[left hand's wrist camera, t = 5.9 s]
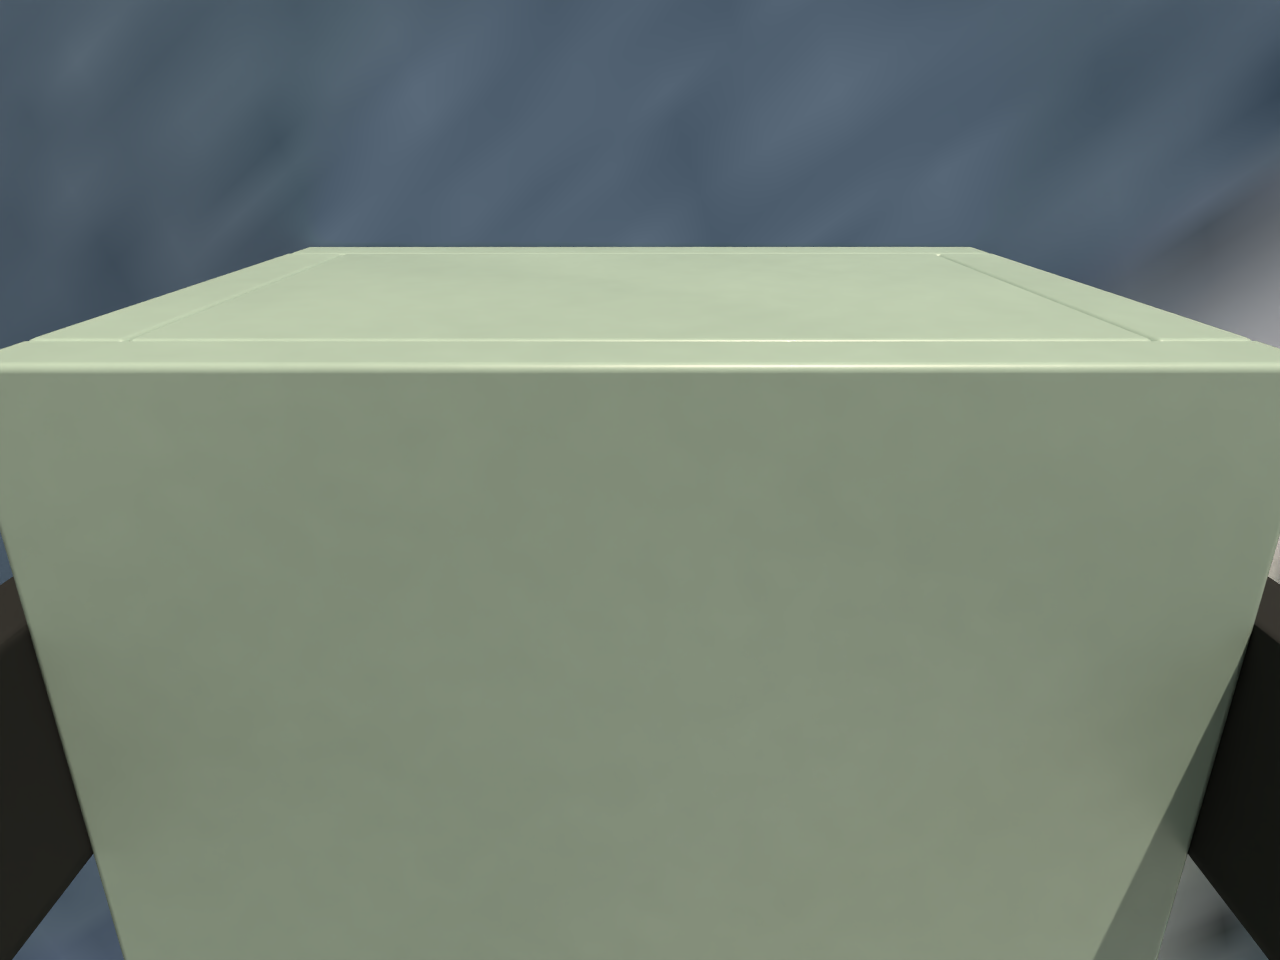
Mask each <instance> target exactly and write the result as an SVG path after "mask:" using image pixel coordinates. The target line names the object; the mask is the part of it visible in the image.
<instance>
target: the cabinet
mask: <svg viewBox="0 0 1280 960" xmlns="http://www.w3.org/2000/svg"><path fill="white" fill-rule="evenodd" d="M0 531H1V535H2V538H3V542H4V545H5V549H6V552H7V556H8V559H9V563H10V566H11V569H12V573H13V576H14V580H15V583H16V587H17V590H18V594H19V597H20V601H21V604H22V608H23V611H24V614H25V618H26V621H27V625H28V628H29V632H30V635H31V639H32V642H33V646H34V649H35V652H36V656H37V659H38V663H39V666H40V670H41V673H42V677H43V680H44V684H45V687H46V691H47V694H48V697H49V701H50V704H51V708H52V711H53V715H54V718H55V722H56V725H57V729H58V732H59V736H60V739H61V742H62V746H63V749H64V753H65V756H66V760H67V763H68V767H69V770H70V774H71V777H72V781H73V784H74V787H75V791H76V794H77V798H78V801H79V805H80V808H81V812H82V815H83V819H84V822H85V826H86V829H87V832H88V836H89V839H90V843H91V846H92V850H93V853H94V857H95V860H96V864H97V867H98V870H99V874H100V877H101V881H102V884H103V888H104V891H105V895H106V898H107V902H108V905H109V909H110V912H111V915H112V919H113V922H114V926H115V929H116V933H117V936H118V940H119V943H120V947H121V950H122V954H123V957H124V960H1157V957H1158V954H1159V950H1160V947H1161V944H1162V940H1163V937H1164V933H1165V930H1166V926H1167V923H1168V919H1169V916H1170V912H1171V909H1172V906H1173V902H1174V899H1175V895H1176V892H1177V888H1178V885H1179V881H1180V878H1181V874H1182V871H1183V867H1184V864H1185V861H1186V857H1187V854H1188V850H1189V847H1190V843H1191V840H1192V836H1193V833H1194V829H1195V826H1196V823H1197V819H1198V816H1199V812H1200V809H1201V805H1202V802H1203V798H1204V795H1205V791H1206V788H1207V784H1208V781H1209V778H1210V774H1211V771H1212V767H1213V764H1214V760H1215V757H1216V753H1217V750H1218V746H1219V743H1220V740H1221V736H1222V733H1223V729H1224V726H1225V722H1226V719H1227V715H1228V712H1229V708H1230V705H1231V702H1232V698H1233V695H1234V691H1235V688H1236V684H1237V681H1238V677H1239V674H1240V670H1241V667H1242V663H1243V660H1244V657H1245V653H1246V650H1247V646H1248V643H1249V639H1250V636H1251V632H1252V629H1253V625H1254V622H1255V619H1256V615H1257V612H1258V608H1259V605H1260V601H1261V598H1262V594H1263V591H1264V587H1265V584H1266V580H1267V577H1268V574H1269V570H1270V567H1271V563H1272V560H1273V556H1274V553H1275V549H1276V546H1277V542H1278V539H1279V536H1280V349H1279V348H1275V347H1272V346H1269V345H1266V344H1263V343H1260V342H1257V341H1251V340H1250V339H1248V338H1246V337H1243V336H1240V335H1237V334H1234V333H1231V332H1228V331H1225V330H1221V329H1218V328H1215V327H1212V326H1209V325H1206V324H1203V323H1200V322H1197V321H1194V320H1191V319H1188V318H1185V317H1182V316H1179V315H1176V314H1173V313H1170V312H1167V311H1164V310H1161V309H1158V308H1155V307H1152V306H1149V305H1146V304H1143V303H1140V302H1137V301H1133V300H1130V299H1127V298H1124V297H1121V296H1118V295H1115V294H1112V293H1109V292H1106V291H1103V290H1100V289H1097V288H1094V287H1091V286H1088V285H1085V284H1082V283H1079V282H1076V281H1073V280H1070V279H1067V278H1064V277H1061V276H1058V275H1055V274H1052V273H1049V272H1046V271H1042V270H1039V269H1036V268H1033V267H1030V266H1027V265H1024V264H1021V263H1018V262H1015V261H1012V260H1009V259H1006V258H1003V257H1000V256H997V255H994V254H989V253H987V252H984V251H981V250H978V249H975V248H972V247H309V248H306V249H303V250H300V251H297V252H294V253H292V254H287V255H284V256H281V257H278V258H275V259H272V260H269V261H266V262H263V263H260V264H257V265H254V266H251V267H247V268H244V269H241V270H238V271H235V272H232V273H229V274H226V275H223V276H220V277H217V278H214V279H211V280H208V281H205V282H202V283H199V284H196V285H193V286H190V287H187V288H184V289H181V290H178V291H175V292H172V293H169V294H166V295H163V296H160V297H157V298H154V299H151V300H148V301H145V302H142V303H139V304H136V305H133V306H130V307H127V308H124V309H121V310H118V311H115V312H111V313H108V314H105V315H102V316H99V317H96V318H93V319H90V320H87V321H84V322H81V323H78V324H75V325H72V326H69V327H66V328H63V329H60V330H57V331H54V332H51V333H48V334H45V335H42V336H39V337H36V338H34V339H31V340H30V341H25V342H22V343H19V344H16V345H13V346H10V347H7V348H4V349H1V350H0Z"/></svg>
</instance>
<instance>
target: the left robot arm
mask: <svg viewBox="0 0 1280 960" xmlns="http://www.w3.org/2000/svg"><path fill="white" fill-rule="evenodd" d="M92 854H93V850H92V846H91V843H90V839H89V836H88V832H87V829H86V826H85V822H84V819H83V815H82V812H81V808H80V805H79V801H78V798H77V794H76V791H75V787H74V784H73V781H72V777H71V774H70V770H69V767H68V763H67V760H66V756H65V753H64V749H63V746H62V742H61V739H60V736H59V732H58V729H57V725H56V722H55V718H54V715H53V711H52V708H51V704H50V701H49V697H48V694H47V691H46V687H45V684H44V680H43V677H42V673H41V670H40V666H39V663H38V659H37V656H36V652H35V649H34V646H33V642H32V639H31V635H30V632H29V628H28V625H27V621H26V618H25V614H24V611H23V608H22V604H21V601H20V597H19V594H18V590H17V587H16V583H15V580H14V576H13V577H12V578H10V579H9V580H7V581H6V582H4V583H3V584H2V585H0V960H12V959H13V958H14V956H15V955H16V954H17V952H18V951H19V950H20V948H21V947H22V946H23V945H24V943H25V942H26V941H27V939H28V938H29V937H30V935H31V934H32V933H33V931H34V930H35V929H36V928H37V926H38V925H39V924H40V922H41V921H42V920H43V918H44V917H45V916H46V915H47V913H48V912H49V911H50V909H51V908H52V907H53V905H54V904H55V903H56V901H57V900H58V899H59V898H60V896H61V895H62V894H63V892H64V891H65V890H66V888H67V887H68V886H69V884H70V883H71V882H72V881H73V879H74V878H75V877H76V875H77V874H78V873H79V871H80V870H81V869H82V868H83V866H84V865H85V864H86V862H87V861H88V860H89V858H90V857H91V856H92ZM1188 854H1189V856H1190V857H1191V858H1192V860H1193V861H1194V862H1195V864H1196V865H1197V866H1198V868H1199V869H1200V870H1201V871H1202V873H1203V874H1204V875H1205V877H1206V878H1207V879H1208V881H1209V882H1210V883H1211V884H1212V886H1213V887H1214V888H1215V890H1216V891H1217V892H1218V894H1219V895H1220V896H1221V898H1222V899H1223V900H1224V901H1225V903H1226V904H1227V905H1228V907H1229V908H1230V909H1231V911H1232V912H1233V913H1234V914H1235V916H1236V917H1237V918H1238V920H1239V921H1240V922H1241V924H1242V925H1243V926H1244V928H1245V929H1246V930H1247V931H1248V933H1249V934H1250V935H1251V937H1252V938H1253V939H1254V941H1255V942H1256V943H1257V945H1258V946H1259V947H1260V948H1261V950H1262V951H1263V952H1264V954H1265V955H1266V956H1267V958H1268V959H1269V960H1280V585H1279V584H1278V583H1277V582H1275V581H1274V580H1272V579H1271V578H1269V577H1267V580H1266V584H1265V587H1264V591H1263V594H1262V598H1261V601H1260V605H1259V608H1258V612H1257V615H1256V619H1255V622H1254V625H1253V629H1252V632H1251V636H1250V639H1249V643H1248V646H1247V650H1246V653H1245V657H1244V660H1243V663H1242V667H1241V670H1240V674H1239V677H1238V681H1237V684H1236V688H1235V691H1234V695H1233V698H1232V702H1231V705H1230V708H1229V712H1228V715H1227V719H1226V722H1225V726H1224V729H1223V733H1222V736H1221V740H1220V743H1219V746H1218V750H1217V753H1216V757H1215V760H1214V764H1213V767H1212V771H1211V774H1210V778H1209V781H1208V784H1207V788H1206V791H1205V795H1204V798H1203V802H1202V805H1201V809H1200V812H1199V816H1198V819H1197V823H1196V826H1195V829H1194V833H1193V836H1192V840H1191V843H1190V847H1189V850H1188Z"/></svg>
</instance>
